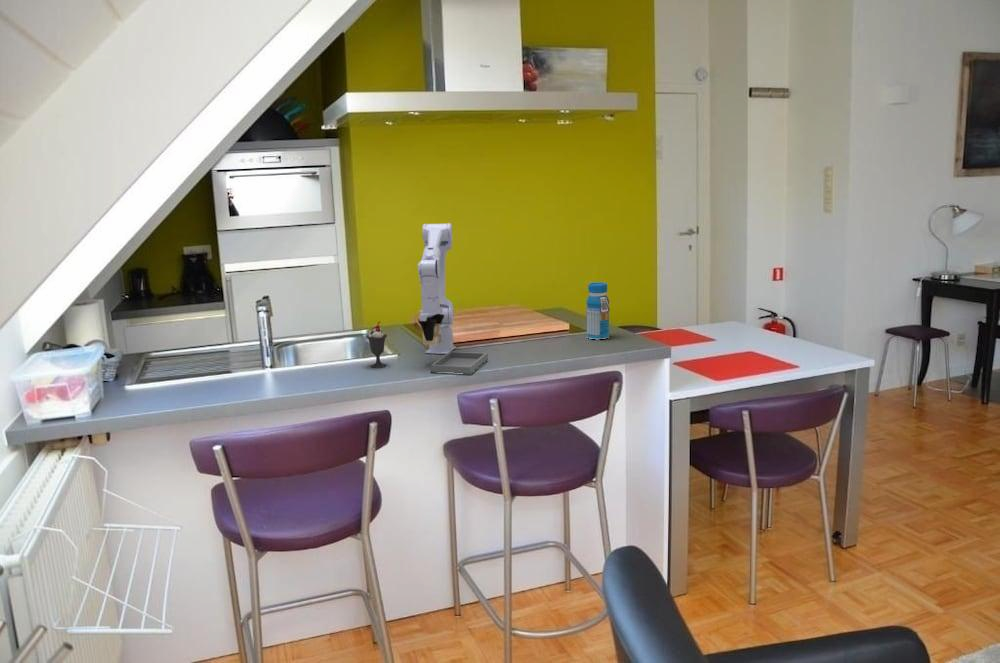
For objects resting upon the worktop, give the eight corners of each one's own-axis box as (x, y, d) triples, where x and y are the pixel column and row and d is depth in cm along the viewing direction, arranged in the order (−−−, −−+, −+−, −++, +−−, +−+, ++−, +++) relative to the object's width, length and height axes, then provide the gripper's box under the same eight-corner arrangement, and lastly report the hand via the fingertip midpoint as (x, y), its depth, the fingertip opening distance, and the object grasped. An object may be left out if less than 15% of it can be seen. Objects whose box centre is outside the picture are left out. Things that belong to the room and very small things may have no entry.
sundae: (385, 368, 250) (382, 322, 247) (365, 368, 251) (362, 322, 248) (391, 363, 256) (389, 318, 253) (372, 363, 257) (369, 318, 254)
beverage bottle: (585, 340, 280) (585, 285, 276) (586, 335, 288) (586, 281, 284) (609, 340, 279) (609, 285, 275) (609, 335, 287) (609, 281, 283)
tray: (450, 358, 260) (450, 351, 260) (487, 360, 257) (487, 353, 256) (430, 373, 243) (430, 365, 243) (470, 375, 240) (470, 367, 239)
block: (428, 341, 255) (427, 323, 254) (441, 341, 254) (440, 323, 253) (423, 344, 251) (422, 326, 250) (436, 345, 250) (435, 326, 248)
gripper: (427, 293, 257) (429, 333, 260) (409, 300, 244) (411, 343, 246) (447, 293, 255) (449, 334, 258) (430, 301, 242) (432, 344, 244)
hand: (432, 338), depth 252 cm, fingers closed on block, 4 cm apart
